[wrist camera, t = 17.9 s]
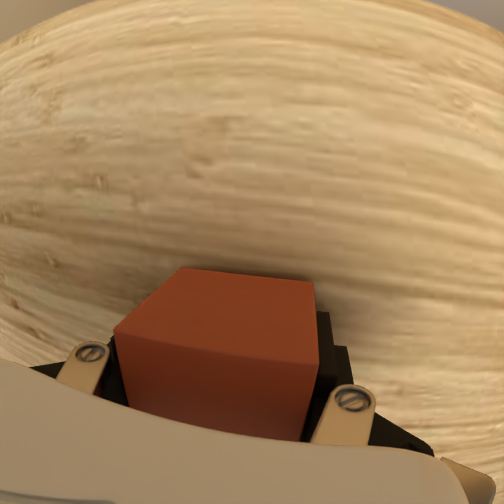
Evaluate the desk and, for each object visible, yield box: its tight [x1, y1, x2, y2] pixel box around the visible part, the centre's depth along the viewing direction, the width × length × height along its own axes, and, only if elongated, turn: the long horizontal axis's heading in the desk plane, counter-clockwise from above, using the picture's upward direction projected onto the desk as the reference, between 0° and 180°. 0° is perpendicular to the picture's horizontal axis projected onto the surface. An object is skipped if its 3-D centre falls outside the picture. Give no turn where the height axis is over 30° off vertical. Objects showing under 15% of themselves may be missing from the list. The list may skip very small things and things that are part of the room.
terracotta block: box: [113, 267, 319, 442], centre depth 10 cm, size 5×5×5 cm
